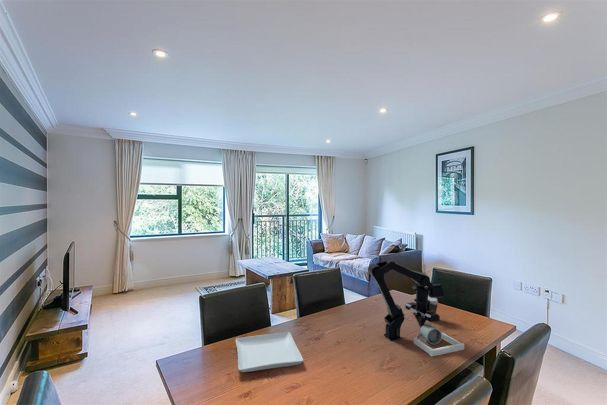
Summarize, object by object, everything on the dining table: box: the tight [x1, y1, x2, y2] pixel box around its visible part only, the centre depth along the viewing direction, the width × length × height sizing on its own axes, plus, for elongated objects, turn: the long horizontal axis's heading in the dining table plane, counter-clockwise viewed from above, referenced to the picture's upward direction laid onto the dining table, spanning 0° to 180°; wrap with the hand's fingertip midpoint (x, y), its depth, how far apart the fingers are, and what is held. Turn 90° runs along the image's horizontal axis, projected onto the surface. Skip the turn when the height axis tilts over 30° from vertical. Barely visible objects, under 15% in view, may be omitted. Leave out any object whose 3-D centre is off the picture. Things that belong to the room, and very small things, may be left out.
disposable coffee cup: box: [426, 296, 439, 322], centre depth 173 cm, size 10×10×12 cm
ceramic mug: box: [415, 323, 442, 346], centre depth 146 cm, size 11×8×8 cm
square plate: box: [235, 331, 304, 373], centre depth 133 cm, size 27×27×4 cm
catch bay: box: [413, 332, 465, 357], centre depth 141 cm, size 19×13×2 cm, turn 109°
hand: (421, 327), depth 152 cm, fingers closed
